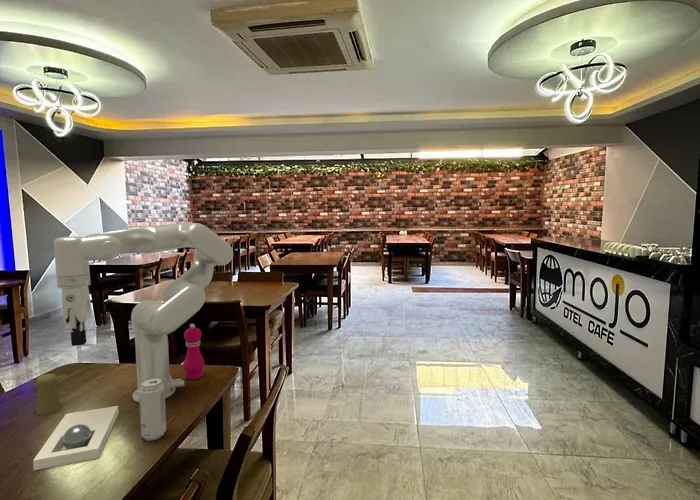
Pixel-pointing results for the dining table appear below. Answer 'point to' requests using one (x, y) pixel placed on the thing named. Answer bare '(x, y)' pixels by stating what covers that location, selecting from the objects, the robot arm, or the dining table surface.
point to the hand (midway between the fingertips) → (79, 344)
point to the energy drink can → (152, 409)
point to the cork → (47, 395)
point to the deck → (100, 430)
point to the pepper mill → (193, 353)
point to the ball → (77, 436)
